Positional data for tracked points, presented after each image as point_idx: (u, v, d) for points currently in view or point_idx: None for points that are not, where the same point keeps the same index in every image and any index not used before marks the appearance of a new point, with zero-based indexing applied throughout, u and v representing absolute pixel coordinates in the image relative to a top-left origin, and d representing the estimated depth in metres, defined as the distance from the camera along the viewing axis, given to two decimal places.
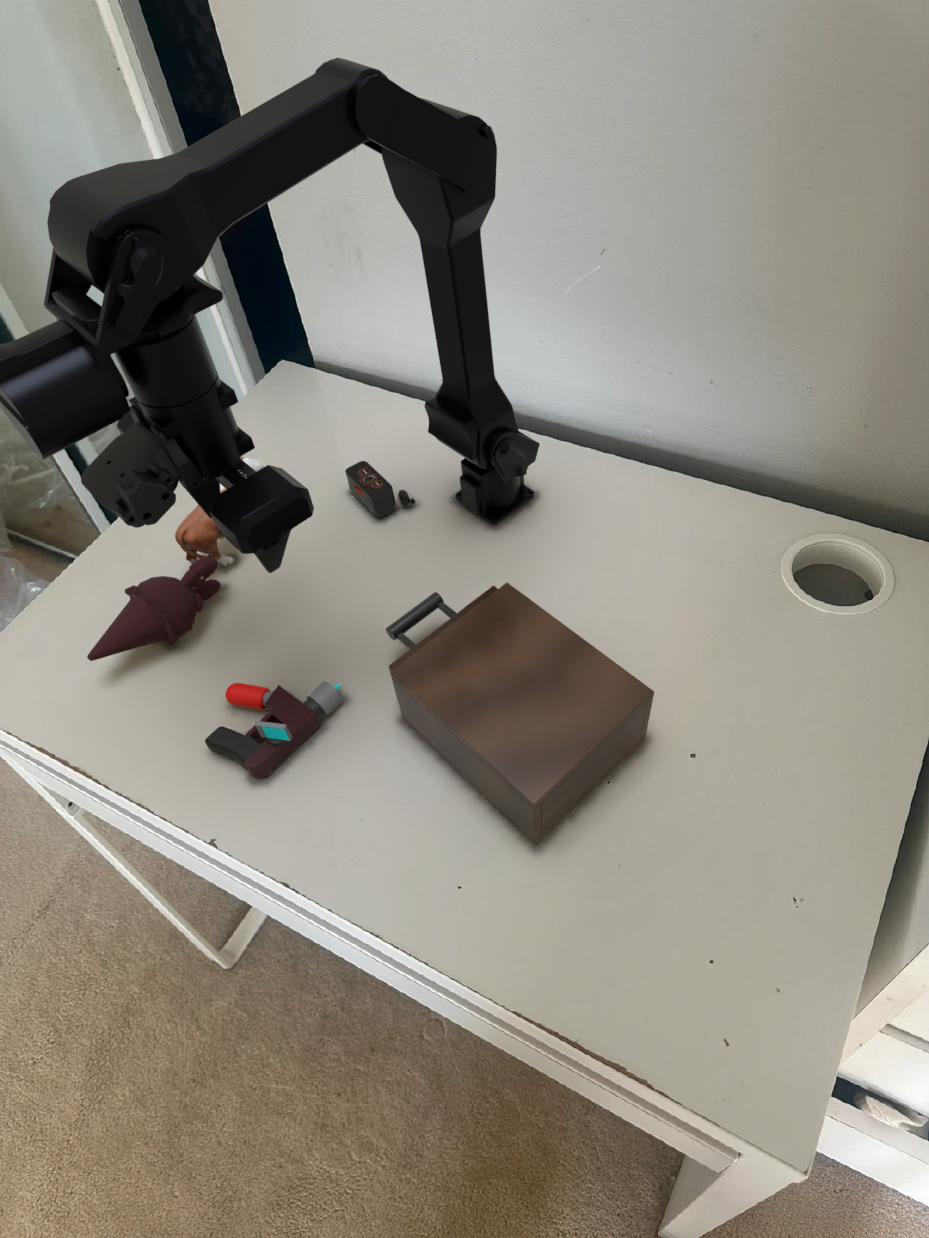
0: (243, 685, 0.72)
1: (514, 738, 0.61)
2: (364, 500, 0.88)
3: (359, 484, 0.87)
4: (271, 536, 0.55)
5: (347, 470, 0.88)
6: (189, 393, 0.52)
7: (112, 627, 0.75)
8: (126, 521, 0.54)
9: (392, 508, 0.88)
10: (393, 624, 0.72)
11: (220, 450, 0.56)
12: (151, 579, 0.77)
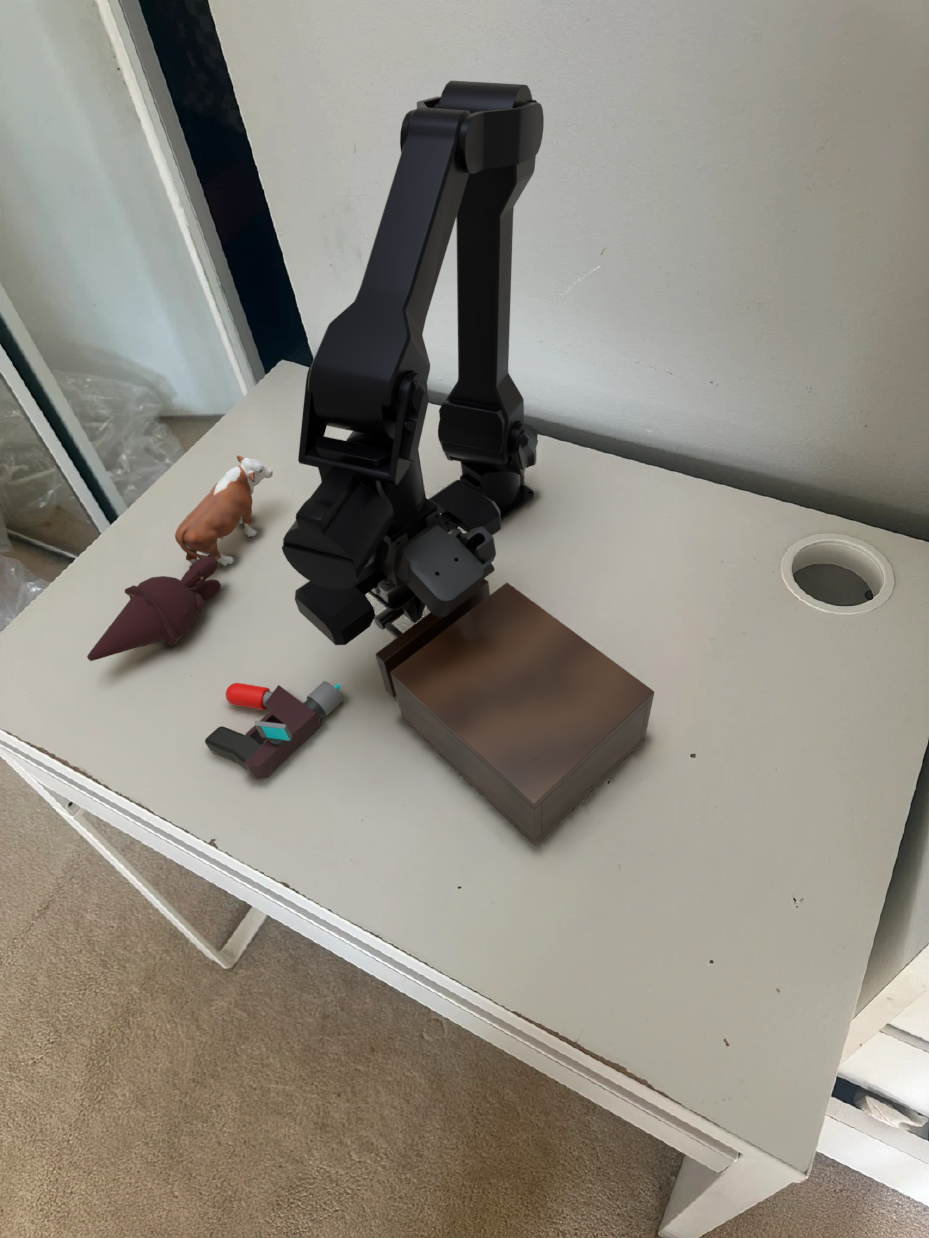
0: (243, 685, 0.72)
1: (514, 738, 0.61)
2: None
3: None
4: None
5: None
6: (418, 499, 0.60)
7: (112, 627, 0.75)
8: (493, 567, 0.63)
9: None
10: (381, 613, 0.73)
11: None
12: (151, 579, 0.77)
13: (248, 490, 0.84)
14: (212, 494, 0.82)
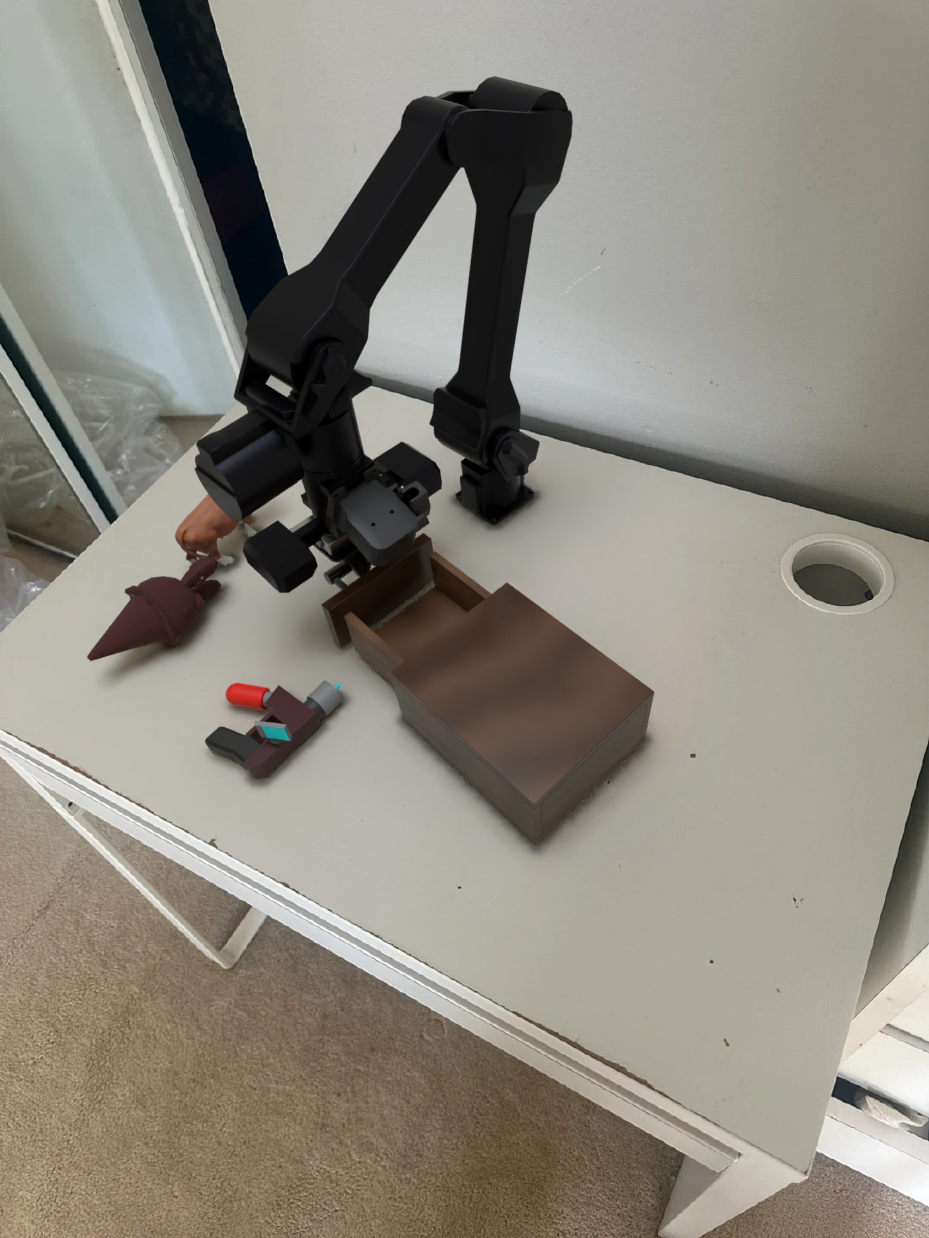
0: (243, 685, 0.72)
1: (514, 738, 0.61)
2: None
3: None
4: None
5: None
6: (346, 460, 0.64)
7: (112, 627, 0.75)
8: (428, 520, 0.67)
9: None
10: (330, 569, 0.77)
11: None
12: (151, 579, 0.77)
13: None
14: None
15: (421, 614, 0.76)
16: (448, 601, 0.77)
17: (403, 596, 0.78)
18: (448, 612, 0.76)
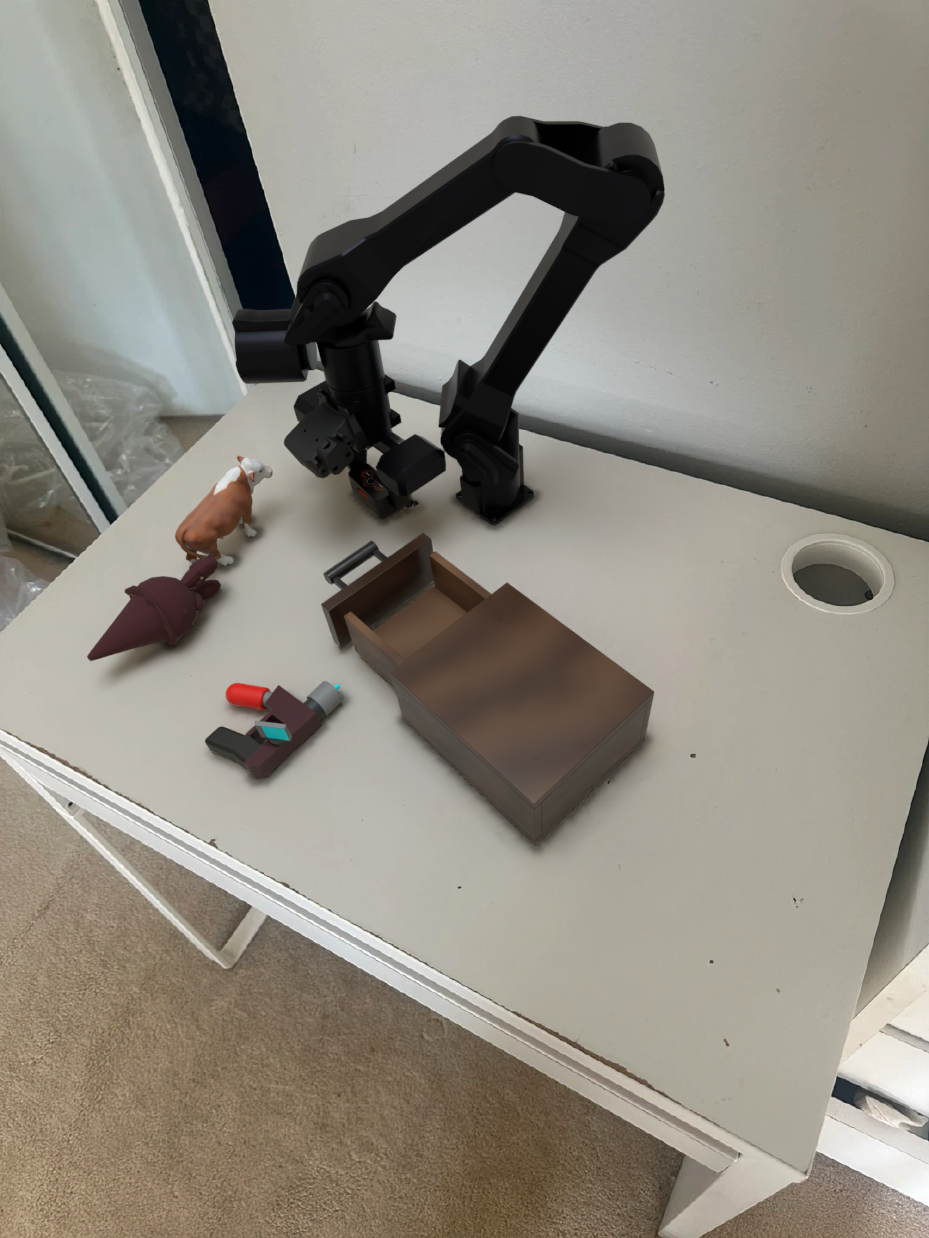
0: (243, 685, 0.72)
1: (514, 738, 0.61)
2: (367, 502, 0.87)
3: (363, 486, 0.86)
4: (419, 484, 0.78)
5: (350, 472, 0.88)
6: (346, 386, 0.74)
7: (112, 627, 0.75)
8: (320, 472, 0.76)
9: None
10: (330, 569, 0.77)
11: (381, 423, 0.79)
12: (151, 579, 0.77)
13: (248, 490, 0.84)
14: (212, 494, 0.82)
15: (421, 614, 0.76)
16: (448, 601, 0.77)
17: (403, 596, 0.78)
18: (448, 612, 0.76)
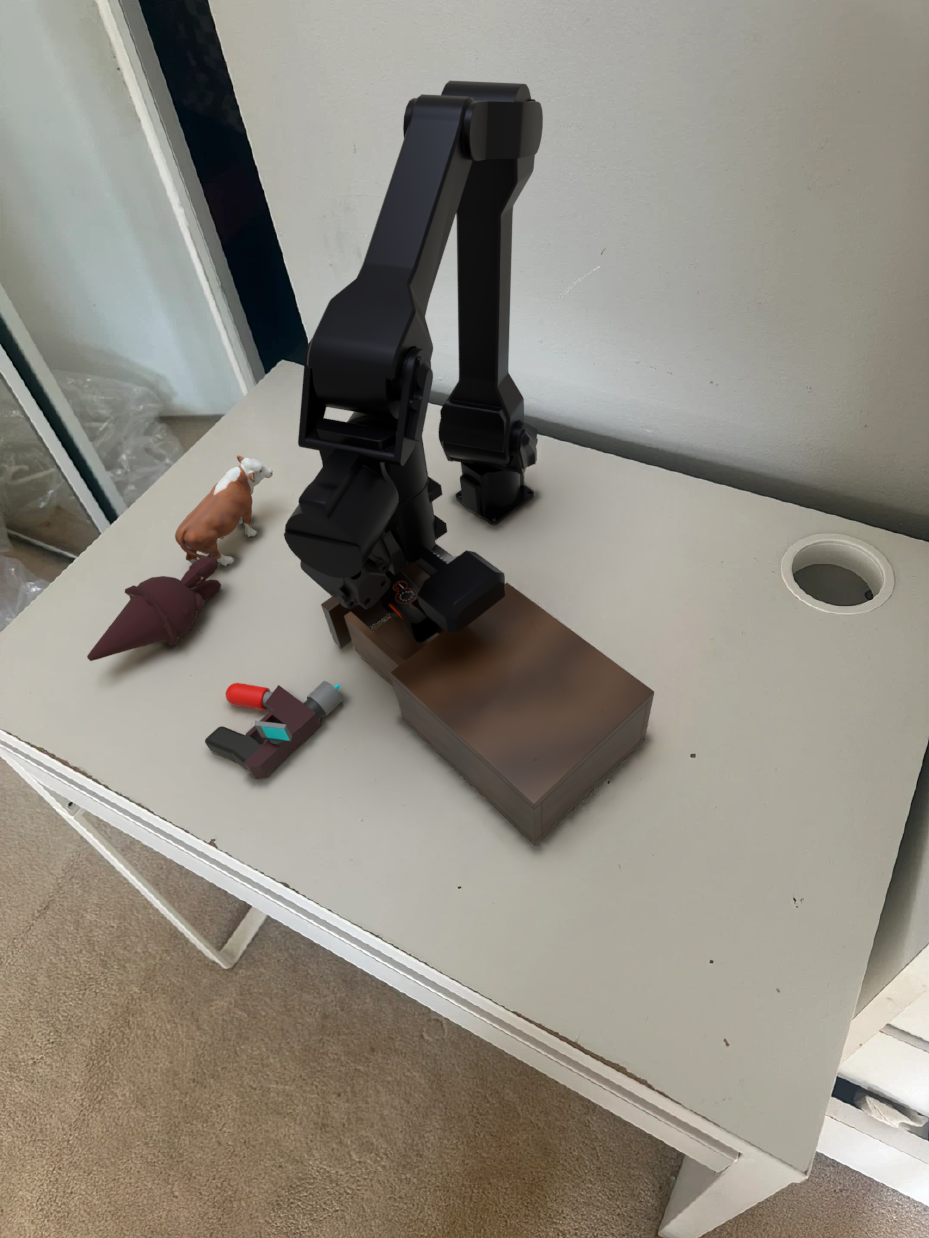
0: (243, 685, 0.72)
1: (514, 738, 0.61)
2: (401, 622, 0.71)
3: (396, 604, 0.70)
4: (473, 617, 0.61)
5: None
6: (422, 482, 0.58)
7: (112, 627, 0.75)
8: (348, 606, 0.59)
9: None
10: None
11: (424, 537, 0.62)
12: (151, 579, 0.77)
13: (248, 490, 0.84)
14: (212, 494, 0.82)
15: None
16: None
17: None
18: None
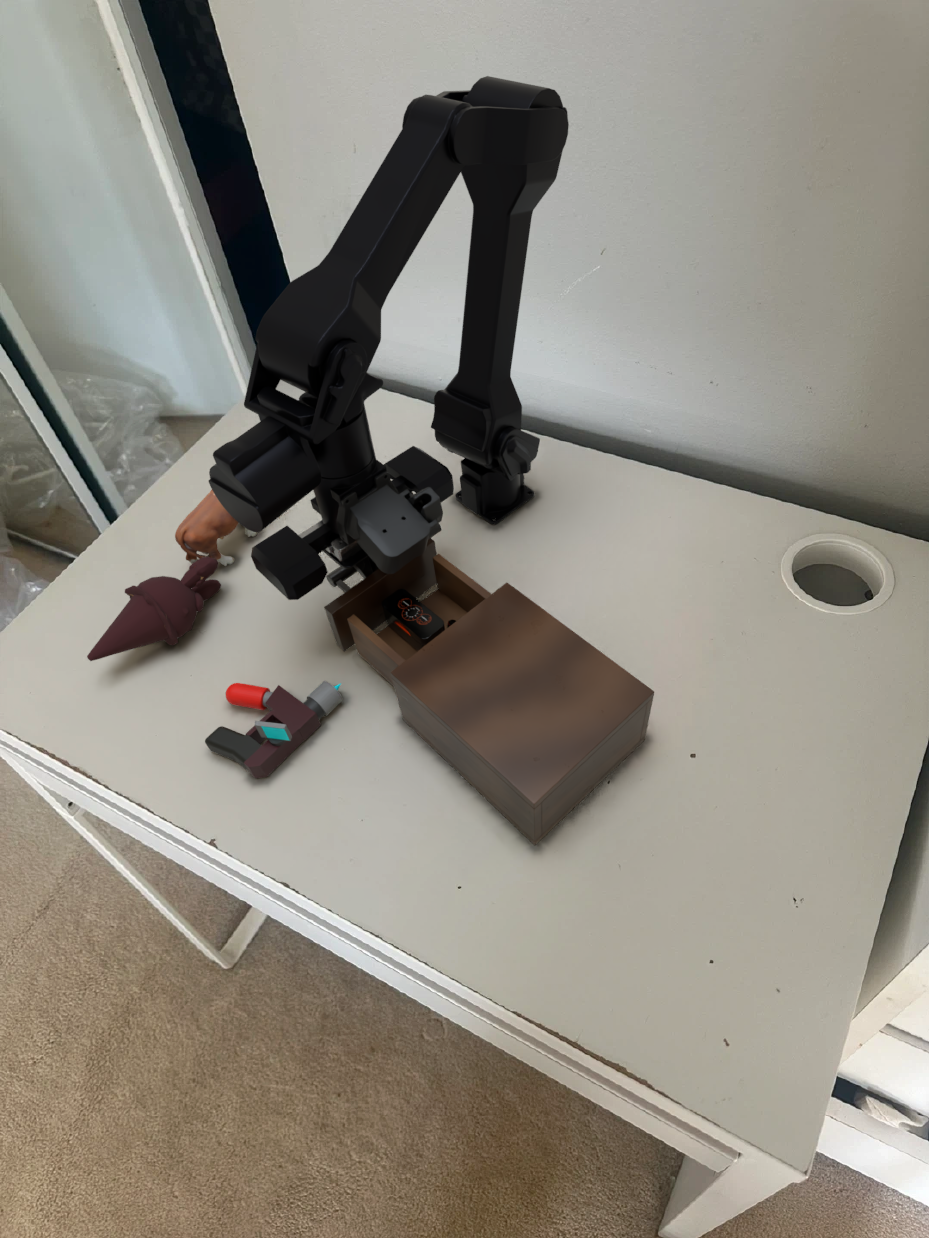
0: (243, 685, 0.72)
1: (514, 738, 0.61)
2: (408, 638, 0.73)
3: (403, 621, 0.72)
4: None
5: (384, 603, 0.73)
6: (360, 464, 0.63)
7: (112, 627, 0.75)
8: (440, 527, 0.66)
9: None
10: (333, 572, 0.77)
11: None
12: (151, 579, 0.77)
13: None
14: (212, 494, 0.82)
15: None
16: (451, 603, 0.77)
17: None
18: (451, 615, 0.76)
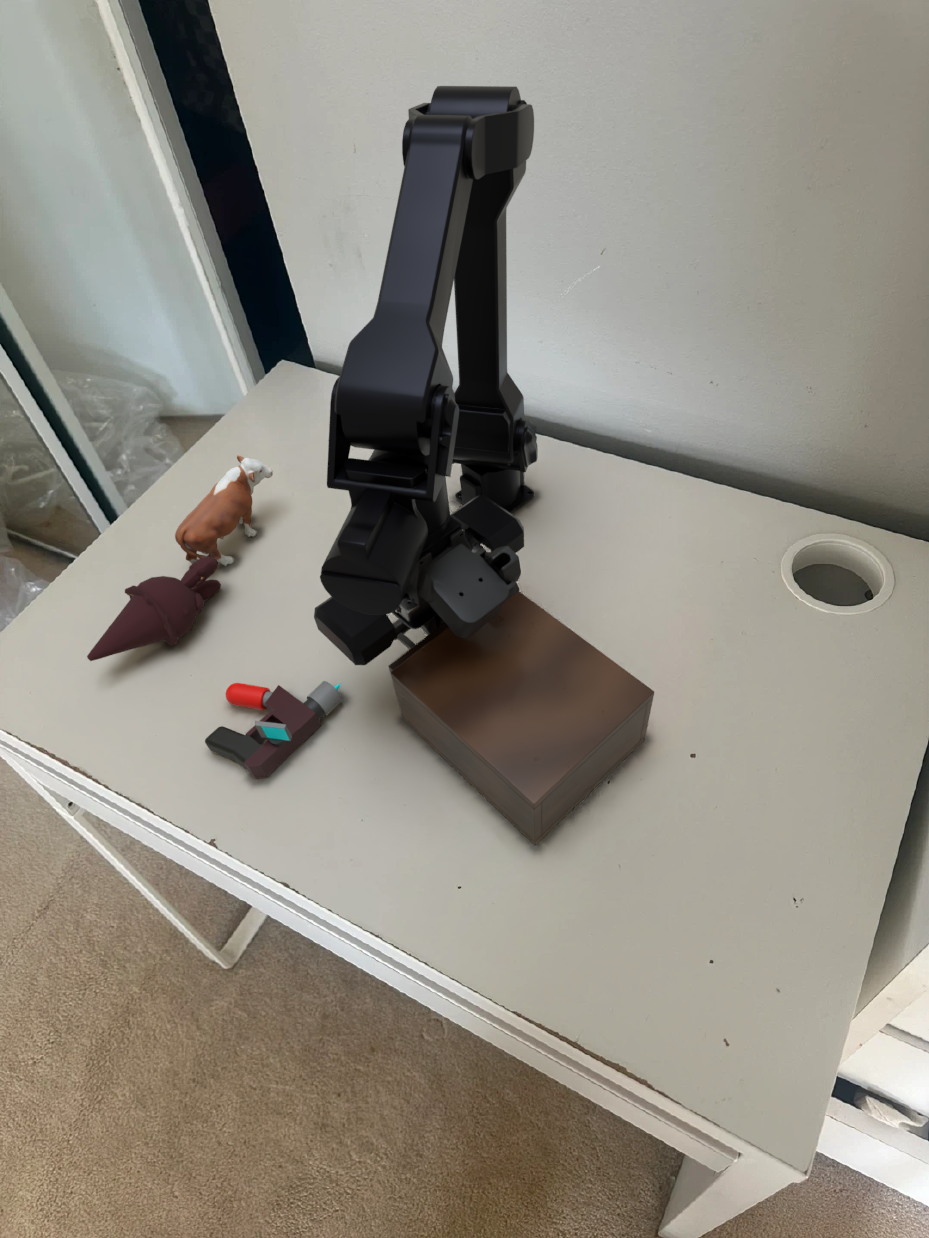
0: (243, 685, 0.72)
1: (514, 738, 0.61)
2: None
3: None
4: None
5: None
6: (445, 514, 0.59)
7: (112, 627, 0.75)
8: (518, 588, 0.62)
9: None
10: (393, 624, 0.72)
11: None
12: (151, 579, 0.77)
13: (248, 490, 0.84)
14: (212, 494, 0.82)
15: None
16: None
17: None
18: None
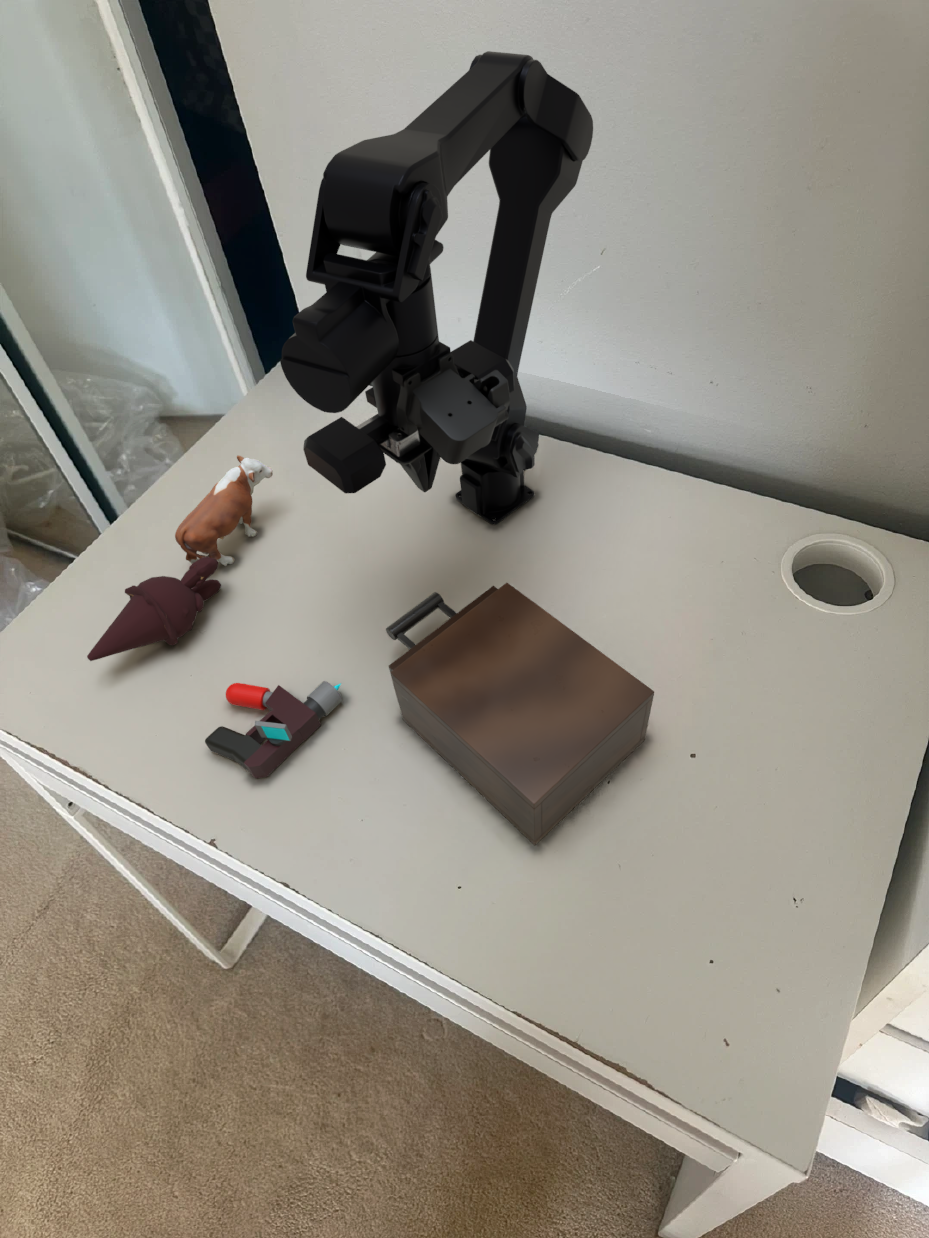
0: (243, 685, 0.72)
1: (514, 738, 0.61)
2: None
3: None
4: None
5: None
6: (429, 338, 0.59)
7: (112, 627, 0.75)
8: (507, 414, 0.62)
9: None
10: (393, 624, 0.72)
11: None
12: (151, 579, 0.77)
13: (248, 490, 0.84)
14: (212, 494, 0.82)
15: None
16: None
17: None
18: None
